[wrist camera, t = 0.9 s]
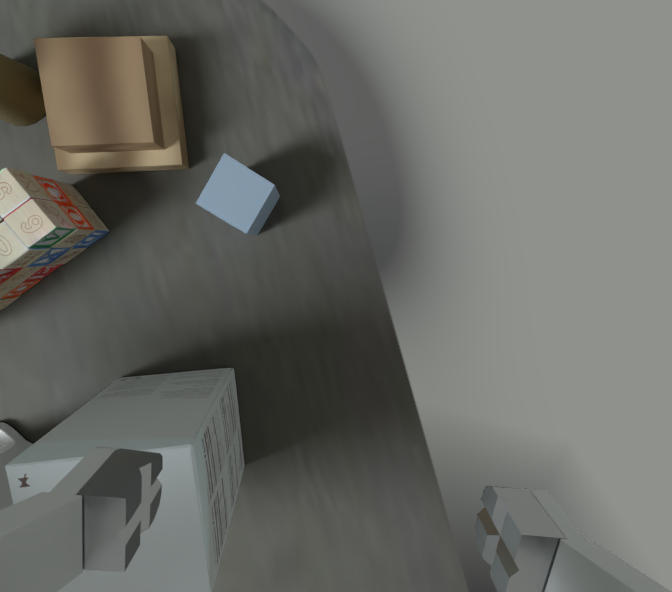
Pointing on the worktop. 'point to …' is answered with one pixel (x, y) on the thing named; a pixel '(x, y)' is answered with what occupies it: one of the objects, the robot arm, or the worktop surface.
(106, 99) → the plinth
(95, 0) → the worktop surface
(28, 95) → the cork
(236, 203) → the pillar
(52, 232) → the stack of blocks
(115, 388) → the supplement box
